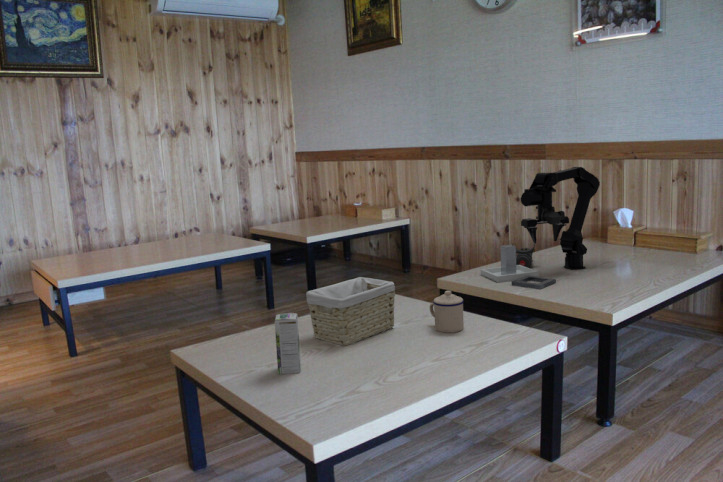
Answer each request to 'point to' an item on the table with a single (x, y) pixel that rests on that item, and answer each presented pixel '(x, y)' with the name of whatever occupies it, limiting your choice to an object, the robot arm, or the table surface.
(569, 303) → the table surface
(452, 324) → the teacup with lid
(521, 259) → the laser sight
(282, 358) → the syrup box
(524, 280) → the dark grey square frame
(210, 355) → the table surface
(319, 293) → the storage basket
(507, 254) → the grey rectangular block
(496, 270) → the parts tray
